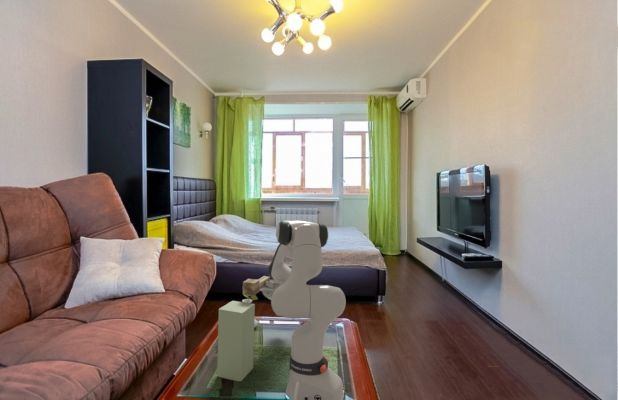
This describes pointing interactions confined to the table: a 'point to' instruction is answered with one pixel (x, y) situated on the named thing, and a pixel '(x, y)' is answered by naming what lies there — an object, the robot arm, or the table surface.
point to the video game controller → (304, 321)
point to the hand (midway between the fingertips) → (261, 281)
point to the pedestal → (235, 340)
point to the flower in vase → (250, 302)
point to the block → (254, 285)
